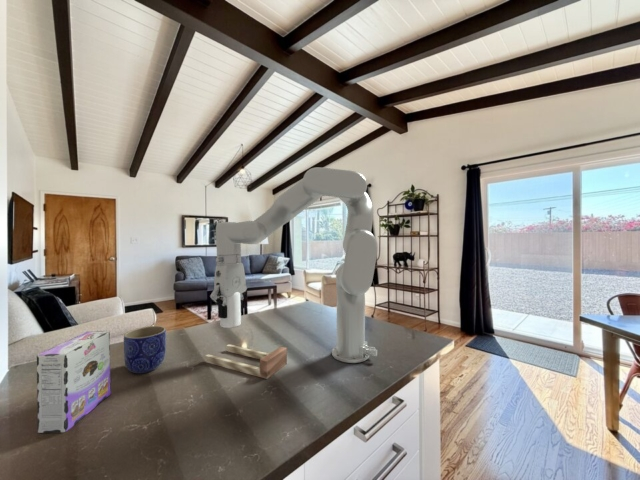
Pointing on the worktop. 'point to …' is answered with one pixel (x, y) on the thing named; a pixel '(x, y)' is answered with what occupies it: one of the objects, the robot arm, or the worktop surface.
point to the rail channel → (267, 360)
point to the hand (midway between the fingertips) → (230, 314)
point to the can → (232, 312)
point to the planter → (144, 348)
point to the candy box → (72, 380)
